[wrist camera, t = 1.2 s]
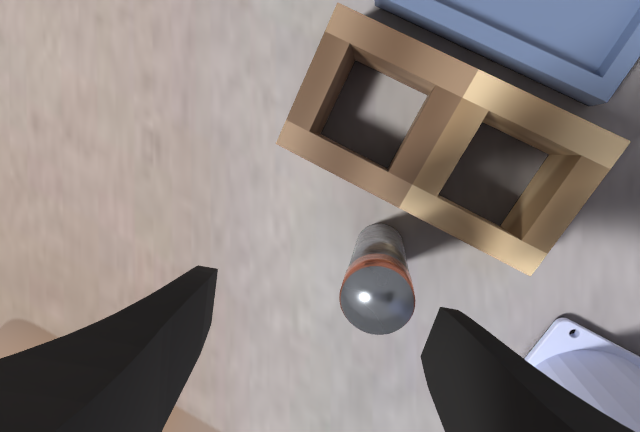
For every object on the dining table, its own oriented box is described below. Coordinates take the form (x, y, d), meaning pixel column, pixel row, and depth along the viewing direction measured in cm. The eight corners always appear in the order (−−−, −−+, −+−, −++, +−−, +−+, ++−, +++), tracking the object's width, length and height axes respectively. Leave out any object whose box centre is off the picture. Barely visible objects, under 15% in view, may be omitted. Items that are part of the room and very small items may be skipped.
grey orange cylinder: (413, 237, 19) (430, 289, 12) (389, 277, 20) (391, 348, 13) (369, 214, 20) (360, 252, 12) (347, 254, 20) (326, 312, 13)
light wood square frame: (588, 142, 17) (630, 141, 14) (508, 256, 19) (530, 276, 16) (463, 82, 17) (478, 69, 14) (396, 198, 19) (398, 207, 16)
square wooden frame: (463, 82, 17) (478, 69, 14) (396, 198, 19) (398, 207, 16) (345, 26, 18) (337, 2, 15) (291, 144, 20) (275, 143, 17)
